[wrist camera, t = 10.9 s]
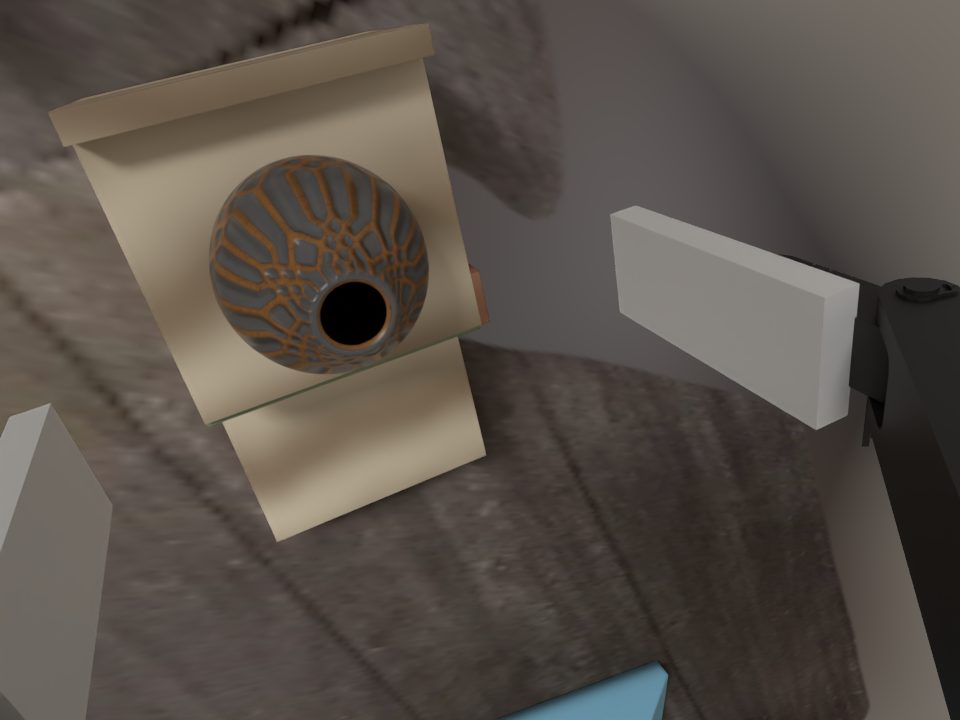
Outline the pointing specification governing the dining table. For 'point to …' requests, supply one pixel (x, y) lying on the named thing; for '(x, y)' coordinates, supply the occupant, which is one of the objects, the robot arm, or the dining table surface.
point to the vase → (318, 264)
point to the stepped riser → (186, 278)
